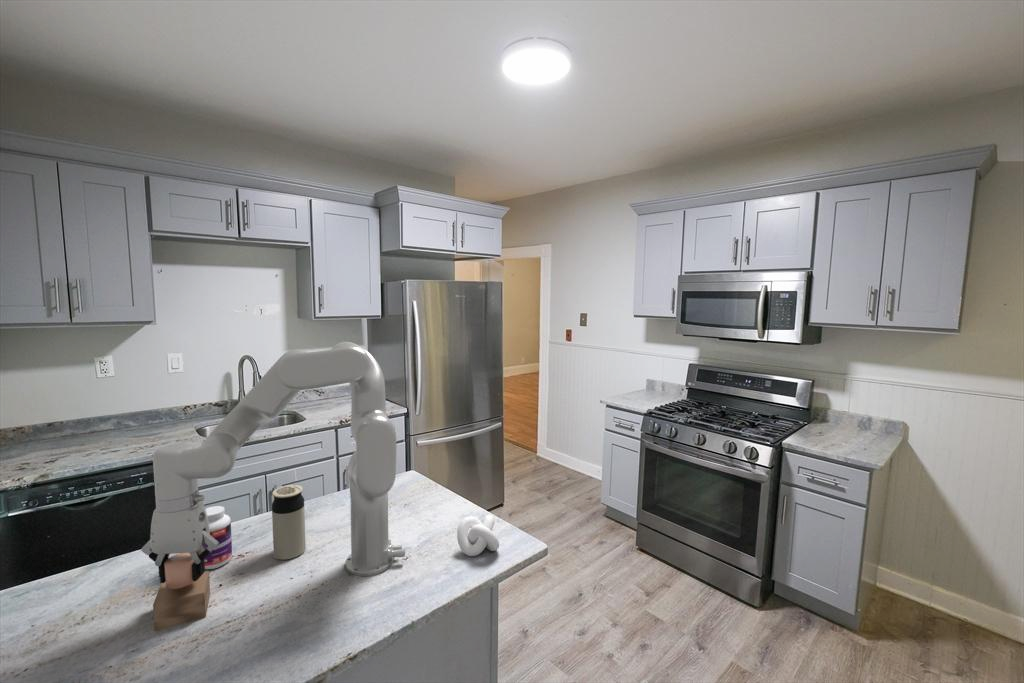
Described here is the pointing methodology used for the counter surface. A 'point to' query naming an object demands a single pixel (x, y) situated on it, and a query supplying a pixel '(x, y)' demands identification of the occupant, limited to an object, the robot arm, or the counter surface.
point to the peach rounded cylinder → (178, 571)
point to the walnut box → (181, 603)
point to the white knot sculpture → (477, 535)
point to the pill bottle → (218, 537)
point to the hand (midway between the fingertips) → (182, 577)
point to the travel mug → (288, 522)
